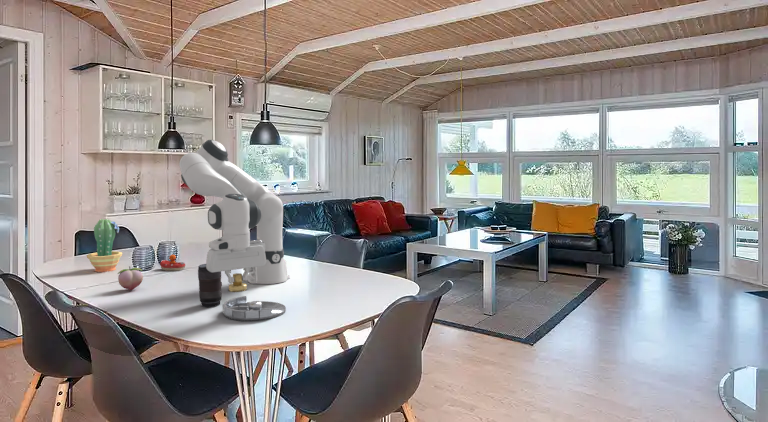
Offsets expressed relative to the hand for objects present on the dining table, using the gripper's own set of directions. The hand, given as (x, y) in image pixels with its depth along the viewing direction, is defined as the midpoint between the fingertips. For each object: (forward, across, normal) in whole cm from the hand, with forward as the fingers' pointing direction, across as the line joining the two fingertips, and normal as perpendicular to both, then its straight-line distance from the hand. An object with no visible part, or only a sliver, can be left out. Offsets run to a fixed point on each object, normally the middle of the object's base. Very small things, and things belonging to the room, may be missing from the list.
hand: (237, 281), depth 175 cm
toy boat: (+12, -5, -93) cm, 94 cm away
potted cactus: (+12, +21, -112) cm, 114 cm away
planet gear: (+3, 0, 0) cm, 3 cm away
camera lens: (+12, +3, -19) cm, 22 cm away
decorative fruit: (+12, +21, -61) cm, 65 cm away
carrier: (+12, -6, 0) cm, 13 cm away
